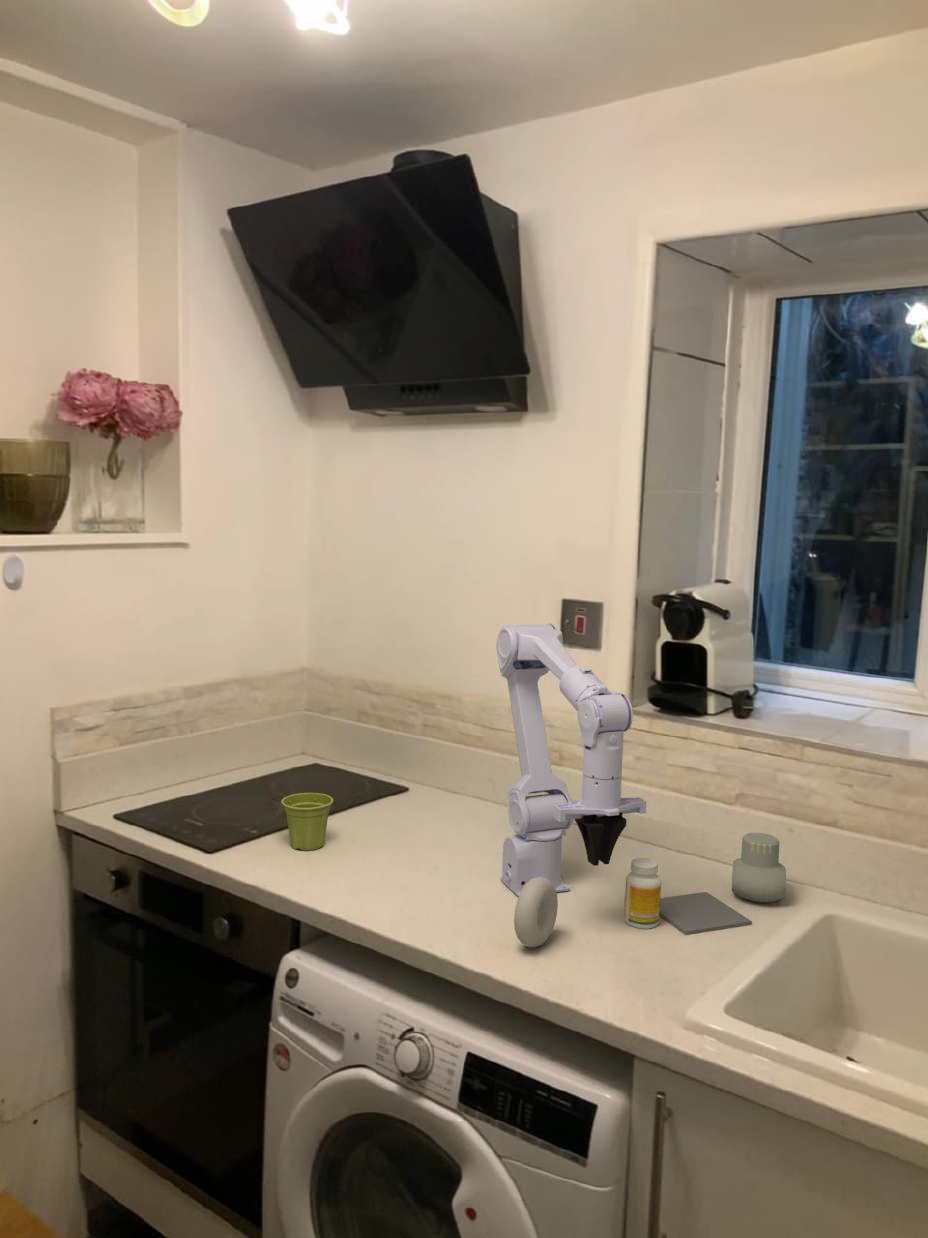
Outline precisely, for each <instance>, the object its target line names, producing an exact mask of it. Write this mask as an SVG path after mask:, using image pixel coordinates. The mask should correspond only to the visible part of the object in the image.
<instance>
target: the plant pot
mask: <svg viewBox="0 0 928 1238" xmlns="http://www.w3.org/2000/svg"><path fill="white" fill-rule="evenodd" d="M333 804H334V798H333V797H331V795H328V794H324V793H319V792H318V793H317V792H302V793H301V792H299V793H294V794H291V795H288V796H284V797H283V798H282V799H281V805H282V806H283V808H284V812H285V813H286V821H287V827H288V833H289V842H290V847H291V848H292V849H294V850H297V849H299V850H301V851H306V850H307V852H308V851H314V850H319V849H320V848H321V847H324V845H325V843H326V841H325V840H326V834H327V826H328V820H329V812H330V810H331V807H332V805H333Z"/></svg>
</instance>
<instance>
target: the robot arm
mask: <svg viewBox="0 0 928 1238" xmlns="http://www.w3.org/2000/svg"><path fill="white" fill-rule="evenodd" d="M495 648H496V656H497V660H498V661H497V662H498V669H499V671H500V672H499V673H500V676H501V677H503V678H504V679H506V680H507V681H506V682H507V688H508V695H509V701H510V708H511V714H512V720H513V721H512V722H513V727H514V734H515V741H516V747H517V754H518V761H519V766H520V773H521V778H519V780H518V781H516V783H515V784H514V785H513V786H512V787H511V788H510V790H509V791H508V801H509V802H508V804H509V805H508V811H507V814H508V821H509V825H510V827H511V829H512V831H514V833H515V834H514V835H512V836H508V837H506V838H505V839H504V841H503V845H502V867H501V869H502V870H501V873H502V874H501V876H500V878H499V880H500V881H501V882H502V883H503V884H504V885H505V886H506V887H507V888H508V889H510V890H511V892H512V893H514V895H516V896H517V897H519V895H520V892H521V890H522V889H523V887H524V885H525V884H526V883H527V882H528V881H530V880H531V879H533V878H536V877H543V878H546V879H548V880H550V881H551V882H552V884H553V885H554V887H555V889H556V893H558V892H559V893H560V892H567V891H570V890H571V887H570V886H569V885H568V884H567V883H565V882H564V881H563V880H562V879H561V873H562V872H561V869H562V849H563V848H562V846H563V845H562V844H563V843H562V842H563V836H566V835H567V830H568V829H570V828H571V827H572V824H573V822H574V821H575V823H576V825H577V828H578V829H579V832H580V834H581V836H582V840H583V843H584V848H585V853H586V858H587V859H586V860H587V862H588V863H589V864H591V865H592V866H594V867H597V866H599V864H600V862H601V863H602V864H604V865H609V864H610V861H611V858H612V854H613V852H614V848H615V845H616V844H617V841H618V839H619V838H620V837H621V836H620V835H621V834H622V832H623V831H624V829H625V828H626V827H627V819H626V818H625V817H624V816H623V815H625V814H634V813H638V814H641V815H642V814H646V813H647V800H646V799H643V798H641V797H640V796H639V797H621V796H622V794H621V793H622V773H623V757H624V756H623V755H624V754H623V753H624V735H625V732H627V731H628V730H630V728H631V726H632V724H633V719H634V717H633V713H634V712H633V707H632V704H631V701H630V699H629V698H628V697H627V695H626V694H625V693H623V692H615V691H611V690H609V688H607V686H606V685H605V684H604V683H603V682H602V681H601V680H600V679H599V678H598V676H597V675H596V674H595V673H594V672H593V670H592V669H591V667H590V666H589V665H578V664H577V663H576V661H575V660H574V659H573V657H572V656H571V654H570V653H569V652H568V651H567V649H566V647H565V646H564V637H563V632H562V631H561V630H560V629H559V627H558V626H557V625H556V624H555V623H552V622H551V623H547V624H519V625H518V624H517V625H510V624H505V625H503V626H502V627H501V629H500V630H499V632H498V635H497V638H496V643H495ZM549 672H551V673H552V674H553V675H554V676H555V677H556V678H557V679H558V680H559V691H560V692H561V694H562V695H563V697H564V698H565V699H566V700H567V701H568V703H570V704H571V706H572V707H573V708H574V710H575V711H577V712H576V713H577V714H576V715H577V722H578V725H579V728H580V741H581V744H582V745H584V746H583V762H582V763H583V764H582V784H581V785H582V787H581V788H582V790H581V799H579V800H574V801H573V800H572V799H571V797H570V793H569V791H568V787H567V783H565V782H564V781H563V780H562V779H560V778H558V777H557V776H556V775H555V774H553V773H552V766H551V760H550V759H551V758H550V755H549V747H548V742H547V741H548V740H547V735H546V728H545V727H546V726H545V724H544V722H545V721H544V715H543V710H542V703H541V697H540V690H539V686H538V683H539V680H540V679H541V677H543V676H545V675H546V674H548V673H549ZM539 793H543V794H539ZM531 794H536V795H531ZM528 795H529V796H528Z"/></svg>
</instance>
